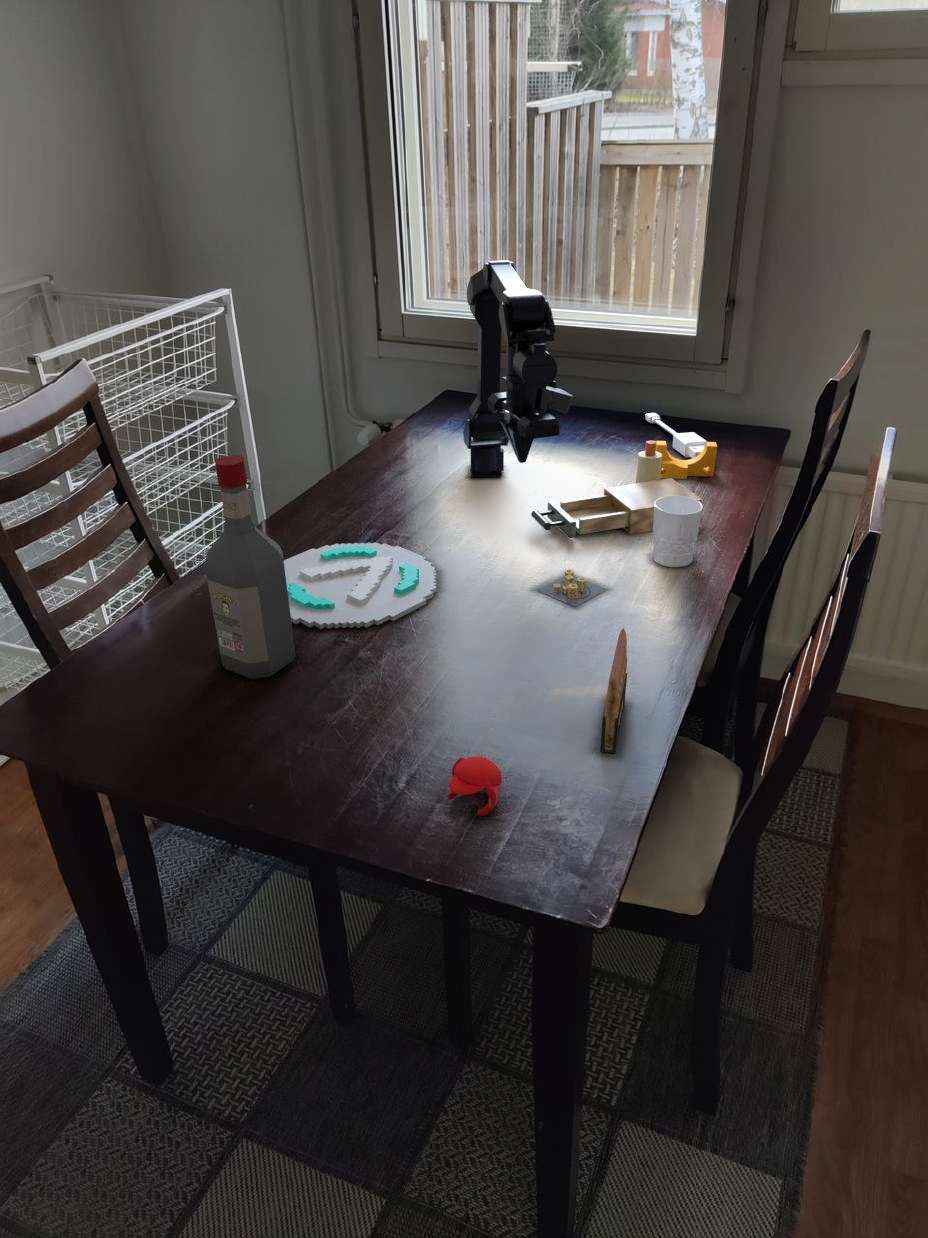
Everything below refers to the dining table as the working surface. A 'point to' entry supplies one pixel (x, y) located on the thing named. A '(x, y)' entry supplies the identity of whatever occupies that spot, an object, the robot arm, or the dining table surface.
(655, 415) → the charging cable
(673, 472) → the pipe clamp
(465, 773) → the cap
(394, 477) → the dining table surface
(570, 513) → the drawer
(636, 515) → the cabinet
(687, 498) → the white cup
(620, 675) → the ammunition clip
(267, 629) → the liquor
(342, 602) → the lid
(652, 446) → the glue bottle
